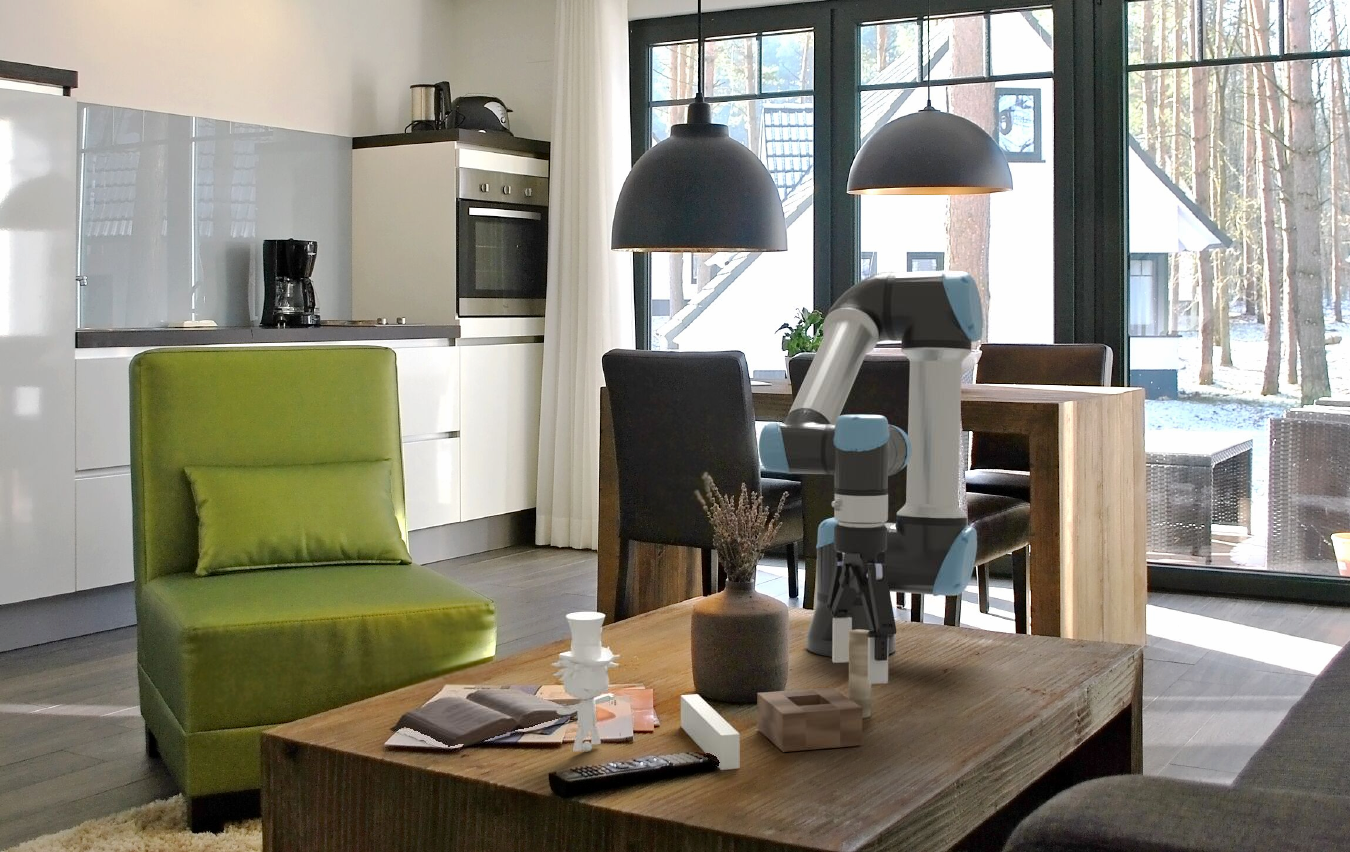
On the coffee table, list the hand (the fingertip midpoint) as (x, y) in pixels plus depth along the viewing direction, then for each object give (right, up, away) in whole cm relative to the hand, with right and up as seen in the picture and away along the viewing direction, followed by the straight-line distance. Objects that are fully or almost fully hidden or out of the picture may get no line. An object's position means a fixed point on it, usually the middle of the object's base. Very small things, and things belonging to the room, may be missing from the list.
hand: (859, 672), depth 200 cm
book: (-52, -8, -2) cm, 53 cm away
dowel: (0, -6, +1) cm, 6 cm away
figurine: (-38, -8, -16) cm, 42 cm away
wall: (-22, -7, -14) cm, 27 cm away
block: (-8, -7, -11) cm, 15 cm away
